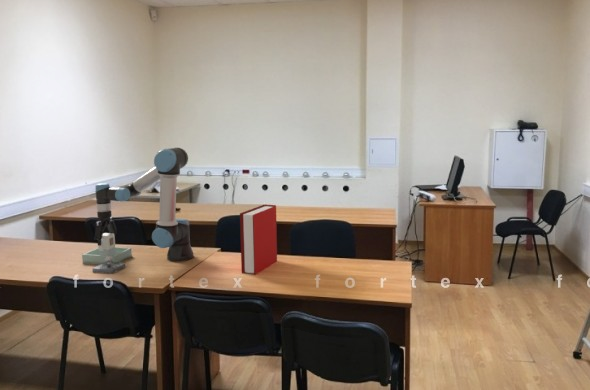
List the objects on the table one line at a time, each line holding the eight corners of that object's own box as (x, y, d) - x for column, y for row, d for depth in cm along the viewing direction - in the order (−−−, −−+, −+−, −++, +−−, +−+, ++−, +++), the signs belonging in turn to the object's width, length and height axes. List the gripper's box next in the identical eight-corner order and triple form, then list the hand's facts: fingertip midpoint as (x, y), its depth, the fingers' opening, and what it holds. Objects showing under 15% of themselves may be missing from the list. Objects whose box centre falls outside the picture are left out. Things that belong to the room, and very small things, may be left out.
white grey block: (106, 256, 292) (104, 232, 290) (116, 256, 290) (114, 233, 288) (99, 259, 286) (97, 235, 284) (109, 259, 284) (108, 236, 282)
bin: (131, 256, 295) (131, 248, 294) (113, 265, 277) (113, 256, 276) (102, 254, 299) (101, 246, 299) (82, 263, 282) (82, 254, 281)
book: (255, 275, 258) (253, 214, 253) (241, 273, 261) (239, 213, 256) (278, 260, 282) (277, 205, 277) (265, 259, 286) (264, 204, 281)
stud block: (125, 266, 274) (124, 253, 273) (112, 273, 263) (111, 259, 262) (106, 265, 277) (105, 252, 276) (92, 272, 266) (91, 258, 265)
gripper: (110, 206, 296) (113, 242, 299) (85, 214, 274) (88, 253, 277) (121, 207, 294) (124, 243, 297) (97, 214, 272) (100, 253, 275)
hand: (106, 248), depth 287 cm, fingers open, 10 cm apart
